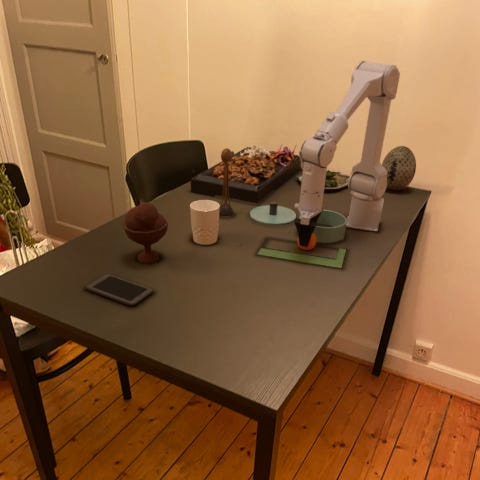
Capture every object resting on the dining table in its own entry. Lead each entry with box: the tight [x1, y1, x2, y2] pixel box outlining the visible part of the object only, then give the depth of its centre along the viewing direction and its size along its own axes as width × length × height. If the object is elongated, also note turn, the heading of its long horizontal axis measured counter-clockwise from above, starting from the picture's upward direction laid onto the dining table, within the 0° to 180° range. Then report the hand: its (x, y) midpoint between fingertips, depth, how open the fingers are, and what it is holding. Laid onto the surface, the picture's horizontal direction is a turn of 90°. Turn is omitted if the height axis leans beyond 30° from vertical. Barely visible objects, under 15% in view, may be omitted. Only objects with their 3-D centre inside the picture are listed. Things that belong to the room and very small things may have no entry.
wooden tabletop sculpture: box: [219, 147, 235, 217], centre depth 140 cm, size 6×5×20 cm
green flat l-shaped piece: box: [256, 246, 347, 270], centre depth 125 cm, size 22×11×1 cm, turn 73°
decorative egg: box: [381, 145, 417, 192], centre depth 164 cm, size 12×12×15 cm
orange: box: [296, 233, 317, 251], centre depth 125 cm, size 5×5×5 cm
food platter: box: [190, 143, 302, 204], centre depth 170 cm, size 45×25×10 cm, turn 155°
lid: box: [249, 200, 297, 226], centre depth 143 cm, size 14×14×5 cm
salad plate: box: [294, 169, 349, 194], centre depth 171 cm, size 19×18×5 cm
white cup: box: [189, 199, 221, 246], centre depth 127 cm, size 8×8×10 cm
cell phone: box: [85, 273, 153, 307], centre depth 107 cm, size 7×14×1 cm, turn 61°
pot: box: [298, 208, 347, 244], centre depth 134 cm, size 13×13×5 cm
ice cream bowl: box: [122, 201, 169, 264], centre depth 116 cm, size 11×11×15 cm
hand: (306, 239), depth 124 cm, fingers open, 7 cm apart
